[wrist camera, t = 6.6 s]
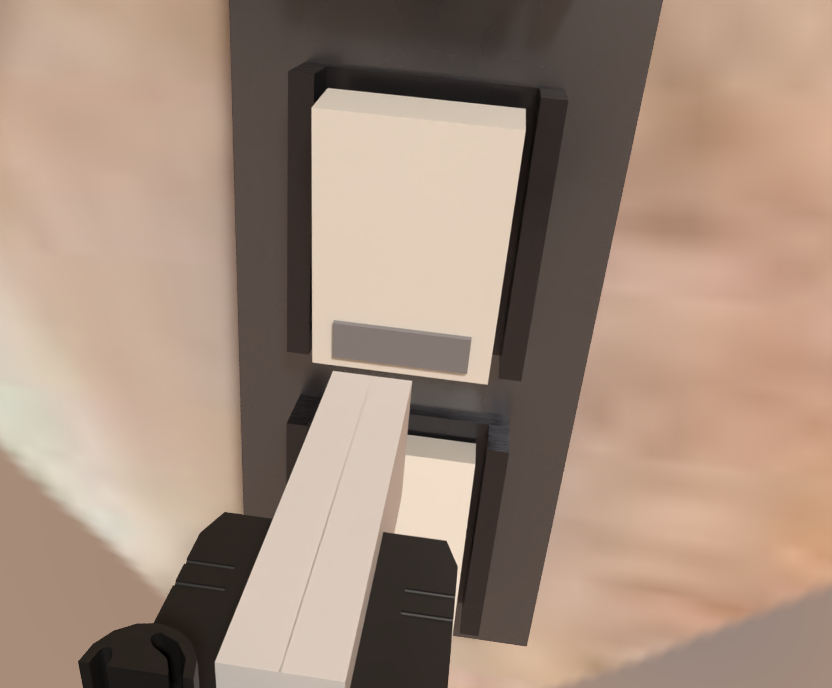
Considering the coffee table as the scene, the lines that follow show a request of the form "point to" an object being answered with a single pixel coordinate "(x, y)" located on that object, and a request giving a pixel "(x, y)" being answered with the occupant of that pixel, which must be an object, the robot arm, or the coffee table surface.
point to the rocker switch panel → (526, 258)
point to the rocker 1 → (410, 231)
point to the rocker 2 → (437, 493)
